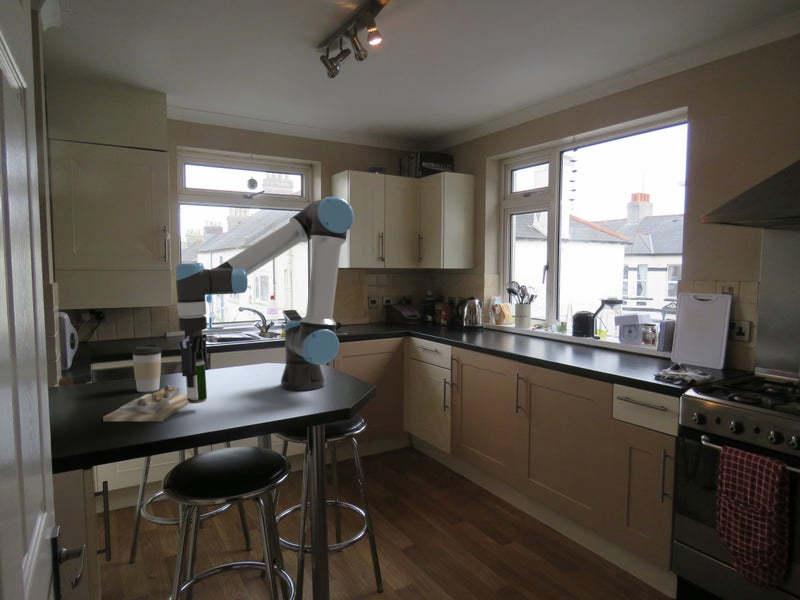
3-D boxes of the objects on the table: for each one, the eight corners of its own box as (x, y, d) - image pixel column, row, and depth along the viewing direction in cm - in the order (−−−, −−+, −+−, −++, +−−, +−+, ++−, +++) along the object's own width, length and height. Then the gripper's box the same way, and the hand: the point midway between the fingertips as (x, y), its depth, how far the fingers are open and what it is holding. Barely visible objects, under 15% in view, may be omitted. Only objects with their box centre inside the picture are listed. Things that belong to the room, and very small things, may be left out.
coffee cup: (150, 393, 168) (149, 348, 167) (127, 391, 170) (125, 347, 168) (168, 386, 177) (167, 344, 176) (145, 385, 178) (144, 343, 177)
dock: (196, 397, 162) (196, 388, 162) (162, 421, 138) (161, 409, 138) (146, 397, 162) (146, 388, 162) (103, 421, 138) (102, 409, 138)
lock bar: (175, 393, 162) (175, 383, 162) (163, 400, 154) (163, 389, 154) (168, 393, 162) (167, 383, 162) (156, 400, 154) (155, 389, 154)
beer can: (205, 402, 146) (203, 361, 145) (185, 404, 145) (183, 363, 144) (208, 397, 152) (205, 358, 151) (188, 399, 150) (186, 359, 149)
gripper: (192, 313, 155) (196, 387, 157) (164, 320, 137) (170, 404, 139) (216, 312, 155) (220, 386, 157) (192, 320, 137) (197, 403, 139)
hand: (196, 394), depth 148 cm, fingers closed on beer can, 5 cm apart
